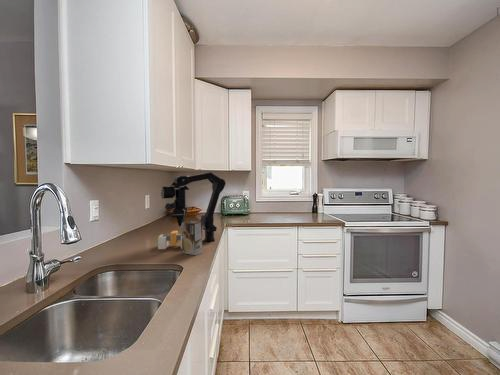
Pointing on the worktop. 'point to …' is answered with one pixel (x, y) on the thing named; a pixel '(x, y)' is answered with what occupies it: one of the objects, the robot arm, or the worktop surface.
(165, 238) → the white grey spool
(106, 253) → the worktop surface
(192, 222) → the coffee box
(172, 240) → the orange u-channel
